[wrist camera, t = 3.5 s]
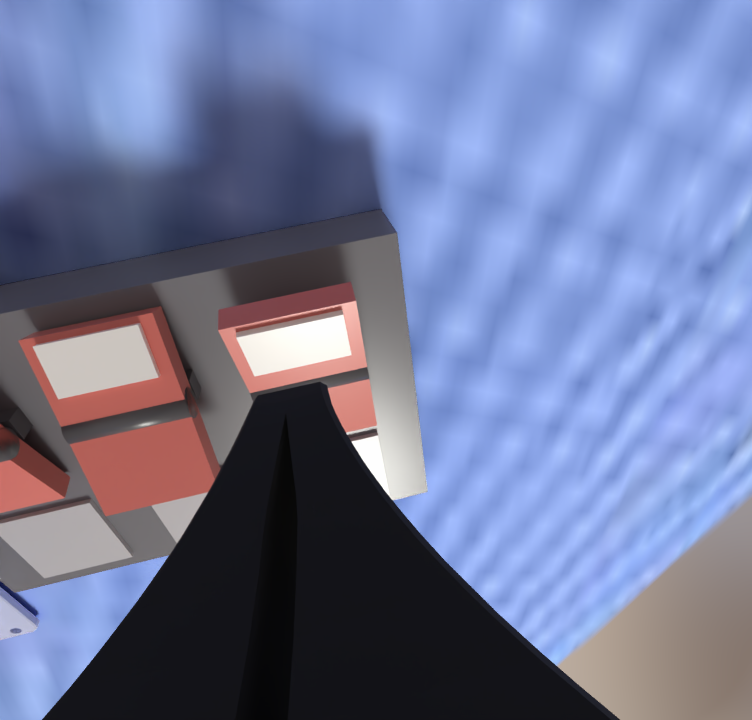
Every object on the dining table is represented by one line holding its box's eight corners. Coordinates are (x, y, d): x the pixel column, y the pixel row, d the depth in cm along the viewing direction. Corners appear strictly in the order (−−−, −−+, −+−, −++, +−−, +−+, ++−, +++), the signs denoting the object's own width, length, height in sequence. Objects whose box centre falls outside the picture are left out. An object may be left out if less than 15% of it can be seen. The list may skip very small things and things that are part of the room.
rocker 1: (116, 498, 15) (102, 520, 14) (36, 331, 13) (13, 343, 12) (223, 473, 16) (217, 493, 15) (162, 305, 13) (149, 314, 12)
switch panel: (39, 540, 21) (6, 608, 19) (-177, 320, 14) (-275, 379, 12) (413, 451, 22) (431, 503, 20) (381, 209, 16) (401, 240, 13)
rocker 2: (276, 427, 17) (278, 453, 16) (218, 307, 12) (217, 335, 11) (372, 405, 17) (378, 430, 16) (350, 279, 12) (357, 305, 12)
